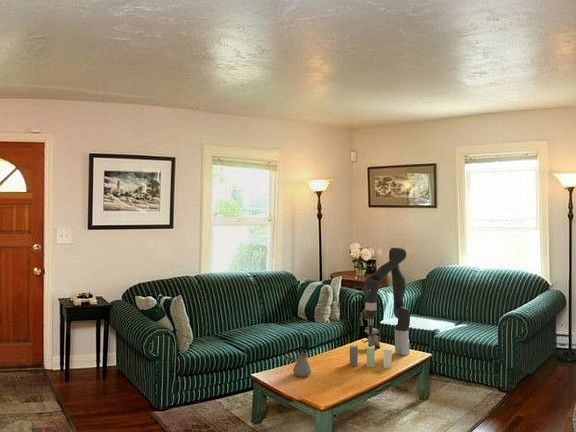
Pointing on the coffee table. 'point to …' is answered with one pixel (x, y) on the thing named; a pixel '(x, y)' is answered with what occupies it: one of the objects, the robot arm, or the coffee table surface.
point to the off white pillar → (387, 357)
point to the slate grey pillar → (353, 355)
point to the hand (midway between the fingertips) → (370, 334)
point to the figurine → (373, 338)
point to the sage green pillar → (370, 356)
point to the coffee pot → (301, 365)
